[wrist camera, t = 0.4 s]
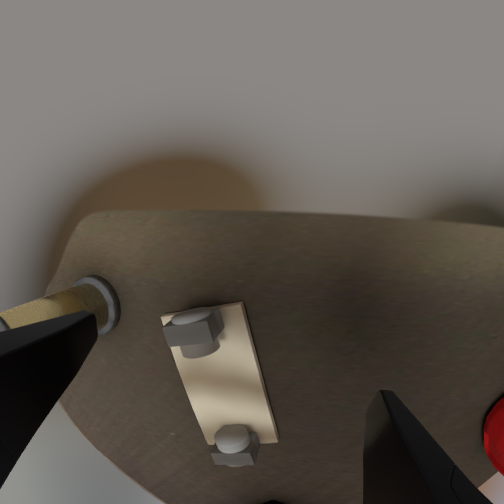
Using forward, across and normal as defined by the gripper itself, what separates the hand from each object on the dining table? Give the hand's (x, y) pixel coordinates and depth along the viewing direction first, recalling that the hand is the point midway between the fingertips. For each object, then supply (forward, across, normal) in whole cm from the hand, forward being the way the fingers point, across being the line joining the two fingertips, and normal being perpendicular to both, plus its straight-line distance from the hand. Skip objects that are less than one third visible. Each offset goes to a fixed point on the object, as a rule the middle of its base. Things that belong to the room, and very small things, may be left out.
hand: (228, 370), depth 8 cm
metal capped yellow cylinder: (+14, +15, +10) cm, 23 cm away
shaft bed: (+12, +2, +13) cm, 18 cm away
